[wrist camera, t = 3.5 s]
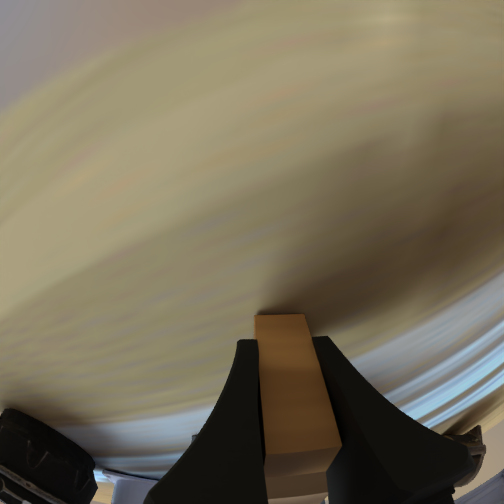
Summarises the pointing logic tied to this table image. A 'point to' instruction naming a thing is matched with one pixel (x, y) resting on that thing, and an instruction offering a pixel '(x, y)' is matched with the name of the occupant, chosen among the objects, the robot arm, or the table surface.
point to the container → (41, 464)
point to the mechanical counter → (471, 451)
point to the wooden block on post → (293, 412)
